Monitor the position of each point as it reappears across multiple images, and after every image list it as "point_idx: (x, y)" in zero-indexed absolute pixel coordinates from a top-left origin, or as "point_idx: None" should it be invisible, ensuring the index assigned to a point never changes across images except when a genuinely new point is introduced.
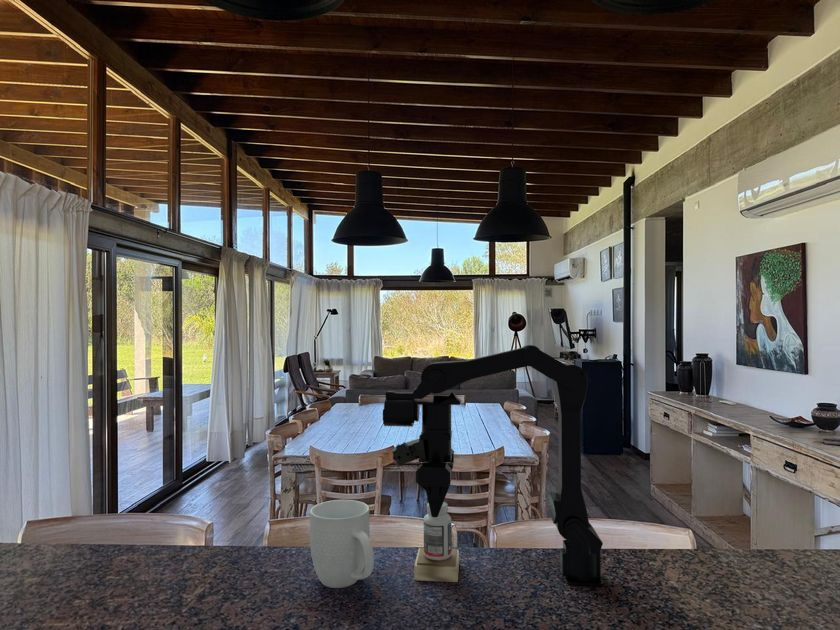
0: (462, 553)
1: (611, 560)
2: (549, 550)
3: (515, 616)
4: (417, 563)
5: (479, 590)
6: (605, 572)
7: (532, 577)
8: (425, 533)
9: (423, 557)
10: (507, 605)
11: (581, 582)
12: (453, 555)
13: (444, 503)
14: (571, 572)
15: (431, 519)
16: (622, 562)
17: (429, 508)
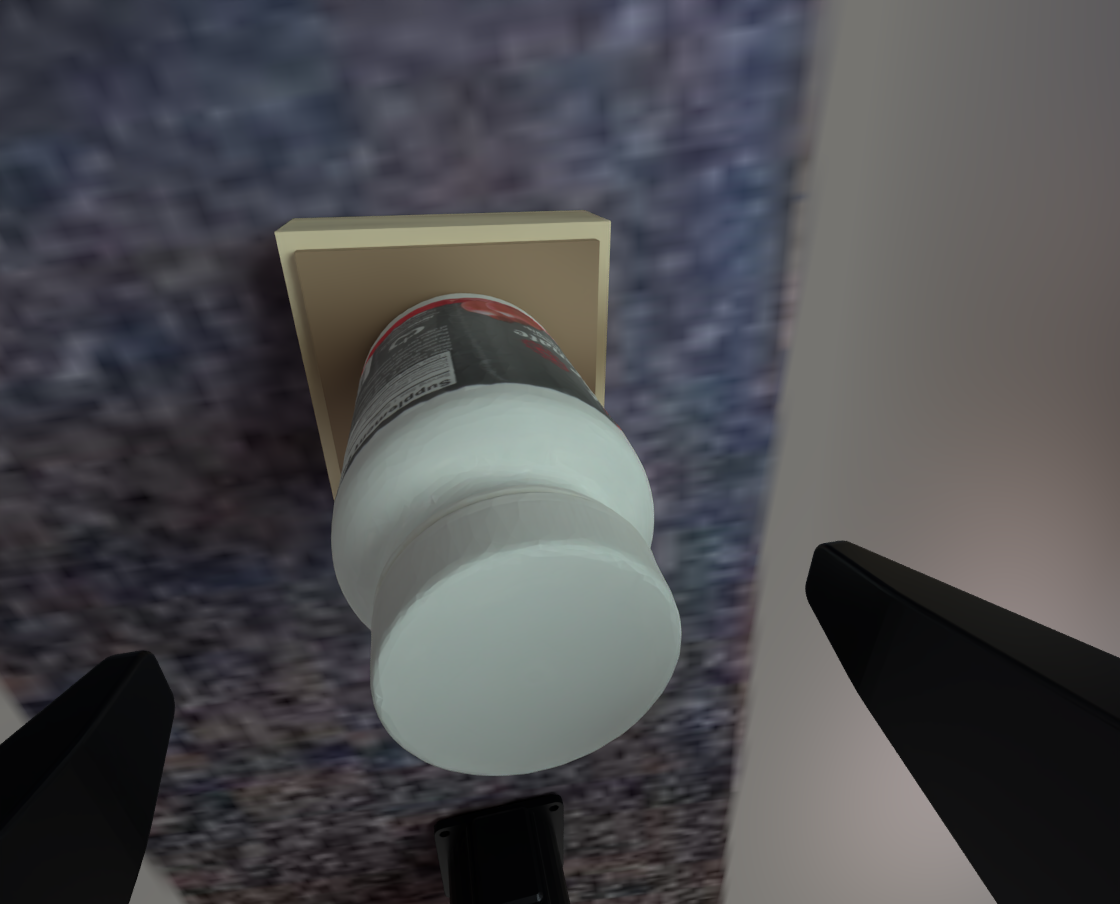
0: (701, 450)
1: (641, 874)
2: (720, 741)
3: None
4: (296, 257)
5: (290, 579)
6: None
7: None
8: (391, 378)
9: (408, 292)
10: (185, 693)
11: (440, 858)
12: None
13: (557, 744)
14: (466, 859)
15: (361, 529)
16: (628, 893)
17: (406, 581)
